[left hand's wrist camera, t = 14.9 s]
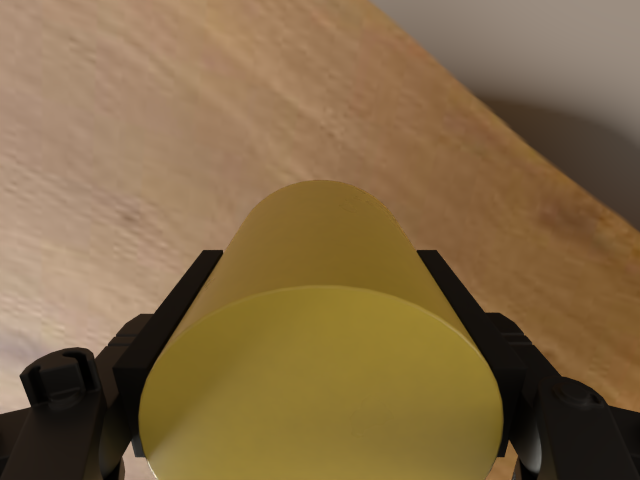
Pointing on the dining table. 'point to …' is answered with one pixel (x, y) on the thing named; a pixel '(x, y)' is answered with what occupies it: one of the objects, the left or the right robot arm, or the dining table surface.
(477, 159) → the dining table surface
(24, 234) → the dining table surface
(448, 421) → the cylinder
